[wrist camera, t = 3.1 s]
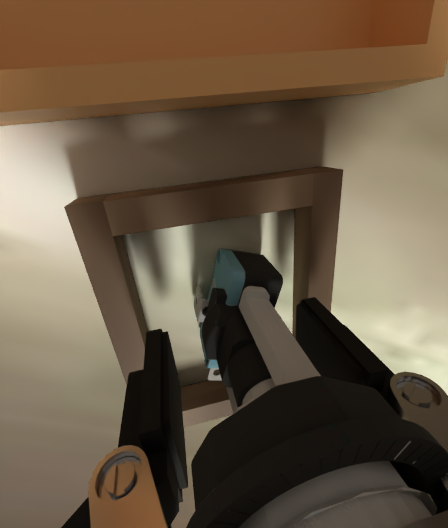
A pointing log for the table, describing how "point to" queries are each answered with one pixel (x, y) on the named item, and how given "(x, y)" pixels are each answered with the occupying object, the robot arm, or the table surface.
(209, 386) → the component holder
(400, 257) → the table surface
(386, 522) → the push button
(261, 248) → the table surface
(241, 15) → the parts tray
